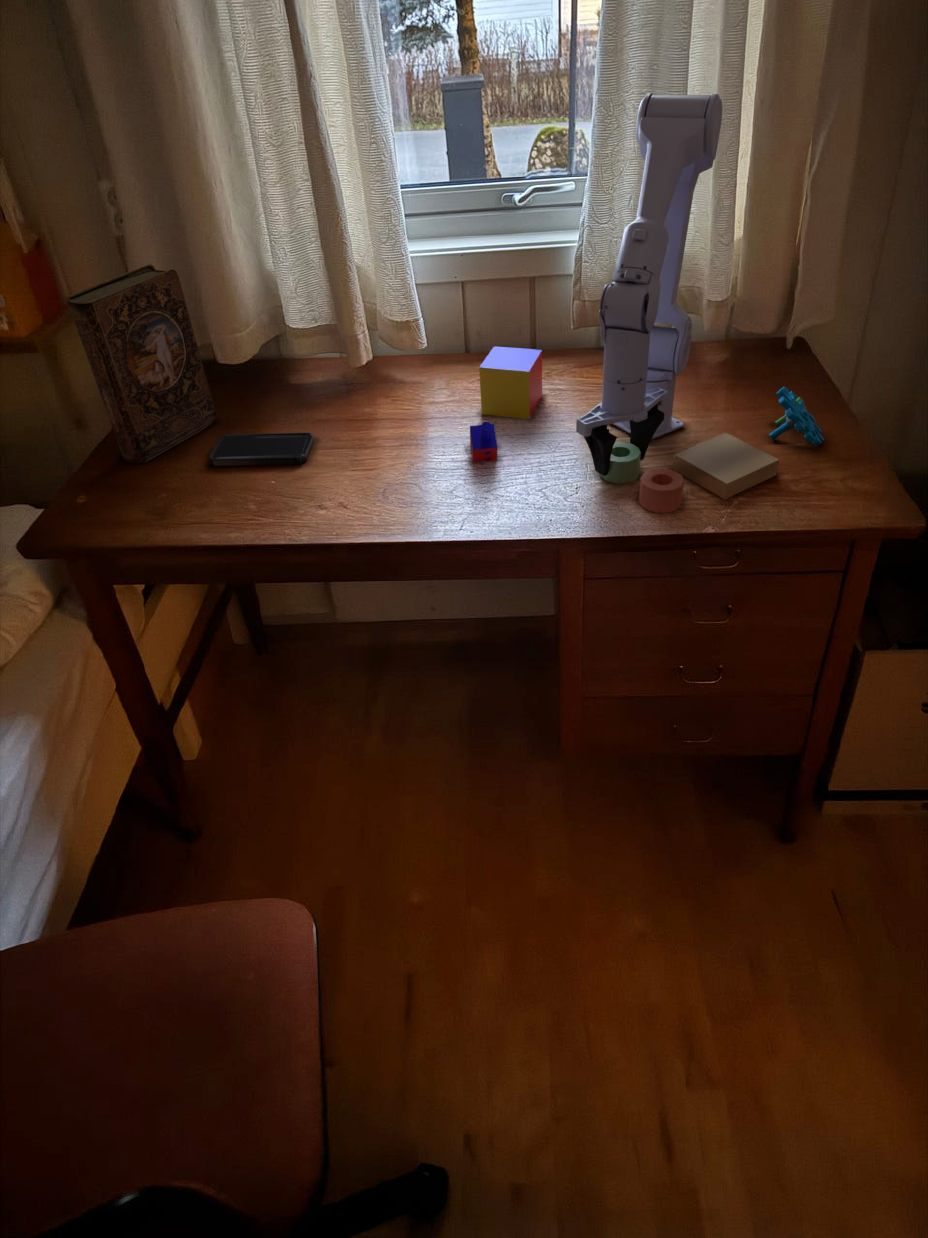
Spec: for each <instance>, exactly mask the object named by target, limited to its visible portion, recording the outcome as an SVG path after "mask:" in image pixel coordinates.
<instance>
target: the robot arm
mask: <svg viewBox="0 0 928 1238" xmlns="http://www.w3.org/2000/svg"><path fill="white" fill-rule="evenodd" d="M722 120H723V101H722V98H721V97H720V95H719V94H718V93H712V94H654V93H653V92H648V93H646V94H645V96H644V97H643V98H642V99H641V101H640V103H639V107H638V110H637V114H636V125H635V136H636V142H637V144H638V147H639V155H640V158H641V159H642V160H643V161H644V169H643V174H642V180H641V187H640V192H639V193H640V194H639V198H638V199H639V200H638V207H637V212H636V218H635V219H634V220H633V221H632V222H630V223H629V224H627V226H625V227H624V230H623V235H622V238H621V243H620V246H619V250H618V254H617V258H616V262H615V265H614V266H615V267H614V270H613V273H612V274H613V275H612V279H611V282H610V283H607V284H606V285H604V288H603V290H602V292H601V296H600V301H599V310H598V321H599V322H598V323H599V326H600V336H601V337H600V339H601V342H603V344H604V345H603V369H602V370H603V371H602V372H603V373H602V391H601V392H602V393H601V397H602V398H601V402H599V403H598V404H597V405H596V406H593V408H592V409H591V410H589V411H588V412H587V413H586V414H584V415H583V416H581V417H578V418H577V419H576V422H575V423H576V425H575V426H576V427H575V430H576V431H575V432H576V433H577V434H578V435H581V436H582V437H583V439H584V440H585V443H586V445H587V446H588V449H589V451H590V452H589V453H590V456H591V459H592V462H593V466H594V471H595V472H596V473H598V474H599V475H600V474H601V475H603V476H606V475H608V473H609V468H610V458H611V453H612V449H613V446H614V443H616V442H617V439H618V436H616V435H614V434H612V433H611V432H610V429H609V428H608V426H610V425H614V426H615V427H617V428H618V429H620V430H622V431H624V432H626V433H628V434H630V441H629V443H630V444H633V445H635V446H637V447H638V448H639V450H640V452H641V458H640V462H641V461H643V460H644V459H645V457H646V456H647V455H646V454H647V451H648V449H649V446H650V444H651V441H652V440H655V439H657V438H659V437H662V436H664V435H666V434H669V433H672V432H674V431H676V430H679V429H681V428H683V427H684V425H685V424H684V422H683V421H680V420H679V419H677V418H674V416H673V411H674V401H675V391H676V380H677V375H680V374H681V373H682V372H684V371H685V369H686V367H687V365H688V363H689V362H688V361H689V358H690V354H691V348H692V331H693V330H692V329H693V322H692V321H693V320H692V318H691V316H690V315H689V314H688V313H687V312H686V311H685V309H683V308H682V307H681V306H680V305H679V304H678V302H677V298H678V293H679V285H680V279H681V273H682V268H683V262H684V256H685V255H684V254H685V248H686V244H687V235H688V230H689V224H690V218H691V212H692V206H693V199H694V192H695V189H696V186H697V183H698V179H699V177H700V174H701V173H703V172H706V171H708V170H710V169H712V168H713V167H714V161H715V159H716V156H717V152H718V147H719V146H718V145H719V140H720V133H721V129H722V122H723V121H722ZM655 324H660V325H668V326H672V327H668V326H658V325H655Z"/></svg>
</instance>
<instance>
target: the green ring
mask: <svg viewBox="0 0 928 1238" xmlns="http://www.w3.org/2000/svg"><path fill="white" fill-rule="evenodd" d="M640 458H641V452H640V450H639V448H638V447H637V446H635V445H633V444H630V442H625V441H618V442H617V441H615V443H614V446H613V449H612V453H611V458H610V468H609V473H608V475H606V476H603V475H601V474H600V473H599V476H600V478H601V479H602V480H604V481H606V482H607V483H613V484H616V485H617V484H619V485H620V484H628V483H632V482H633V481H636V480H637V478H638V477H639V476H640V469H641V461H640Z"/></svg>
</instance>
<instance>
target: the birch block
mask: <svg viewBox="0 0 928 1238" xmlns="http://www.w3.org/2000/svg"><path fill="white" fill-rule="evenodd" d="M779 462H780V459H779V458H777V457H775V456H774V455H773V456H772V454H769V453H767V452H765V451H763V450H761V449H759V448H757V447H755V446H753V445H751V444H749V443H748V442H745V441H743V440H741V439H739V438H738V437H735V436H733V435H731V434H730V433H728V432H723V433H721V434H719V435H717V436H714V437H711V438H710V439H707V440H705V441H702V442H700V443H698V444H695V445H693V446H691V447H688V448H686V449H684V450H682V451H679V452H677V453H675V454H674V455H673V465H672V470H673V471H675V472H677V473H679V474H680V475H682V477H685V478H686V479H688V480H690V481H691V482H694V483H695V484H697V485H699V486H700V487H702V488H704V489H705V490H707V491H709V492H711V493H713V494H714V495H715V496H718V497H719V498H721V499H722V500H727V499H729V498H731V497H733V496H735V495H737V494H739V493H742V492H743V491H745V490H748V489H750V488H752V487H754V486H757V485H758V484H760V483H764V482H765V481H767V480H769V479H771V478H773V477H775V476H777V474H778V473H777V472H778V468H779V464H780V463H779Z"/></svg>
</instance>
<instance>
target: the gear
mask: <svg viewBox="0 0 928 1238" xmlns="http://www.w3.org/2000/svg"><path fill="white" fill-rule="evenodd" d="M776 396H778V398H779V399H778V403H779V405H780V406H781V407H782V408H783V409H784V410H785V411H784V415H783V416H781V417H780V418H778V419H777V420H776V421H775V424H776V425H777V426H779V425H780V426H779V427H777V428H776V429H774V430H773V431H771V432H770V433H769V434H768V435H769V438H770V439H771V440H773V441H774V440H775V439H777V438H778V437H780V436H781V435H782V434H784V433H786V432H787V431H789V429H790V428H791V429H794V428H795V429H796V431H797V432H798V433H799V434H800V433H802V432H803V433H804V435H803V437H804V439H805V440H806V442H808V443H809V444H810V443H812V444H813V446H815V447H819V446H821V445H822V442H824V441H825V438H824V436H822V434H821V433H822V430H821V429H822V428H821V427H820V426H818V425H817V423H815V422H816V419H815V417H814V415H813V414H812V413H809V411H808V409H807V407H806V405H805V401H804V400H803V397H801V396H798V397H797V395H796V394H795V393H794V392H793V391H792V390H791V391H789V389H788V387H786V386H783V387H781V388H780V389H778V391H776Z"/></svg>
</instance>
